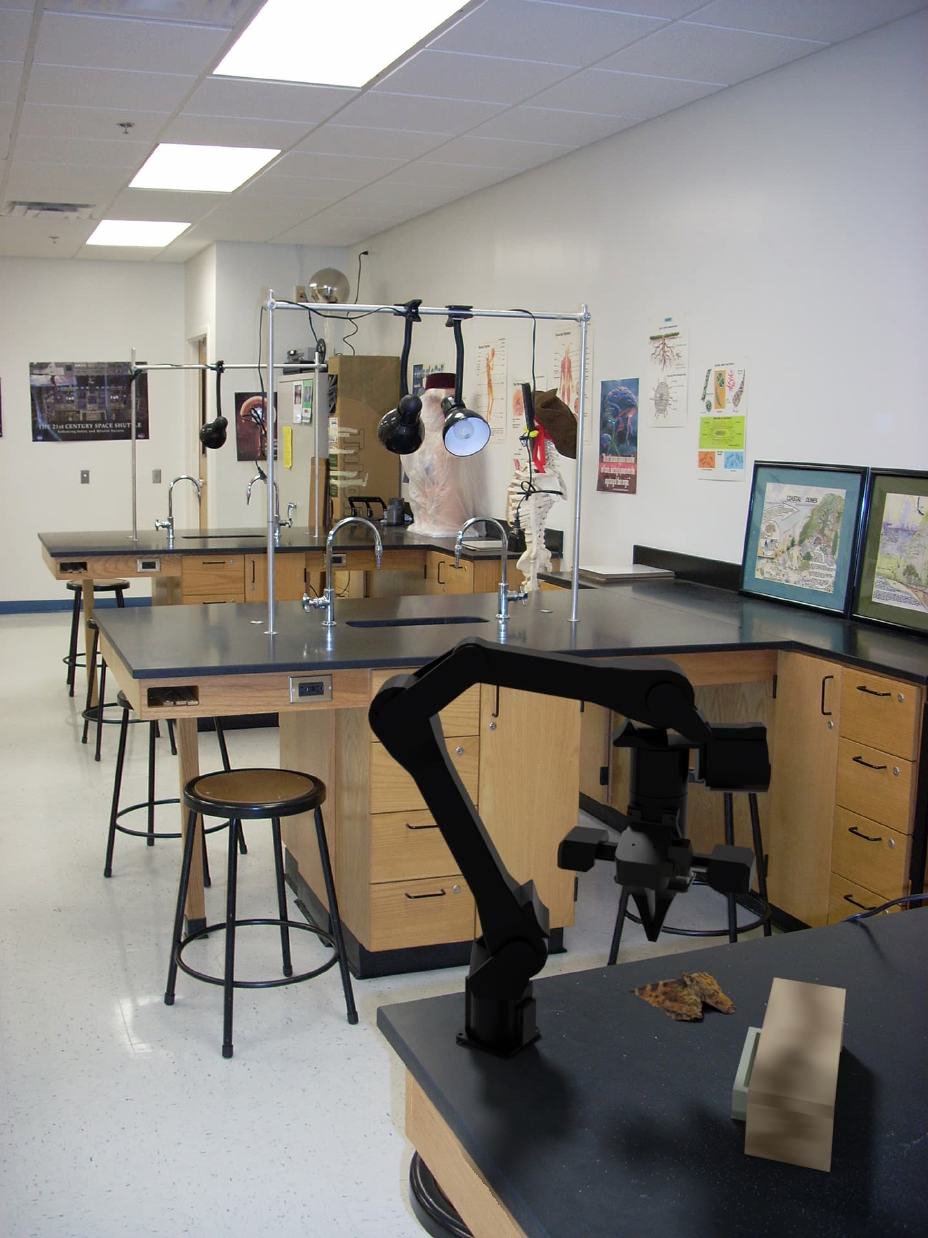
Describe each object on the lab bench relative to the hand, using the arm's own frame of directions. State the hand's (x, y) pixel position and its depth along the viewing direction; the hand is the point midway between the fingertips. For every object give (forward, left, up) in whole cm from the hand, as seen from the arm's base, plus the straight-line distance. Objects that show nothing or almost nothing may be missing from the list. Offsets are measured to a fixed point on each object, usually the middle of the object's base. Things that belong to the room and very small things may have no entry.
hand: (653, 940), depth 118 cm
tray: (+13, -1, -11) cm, 17 cm away
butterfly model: (-1, +11, -12) cm, 16 cm away
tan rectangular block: (+15, 0, -11) cm, 19 cm away
